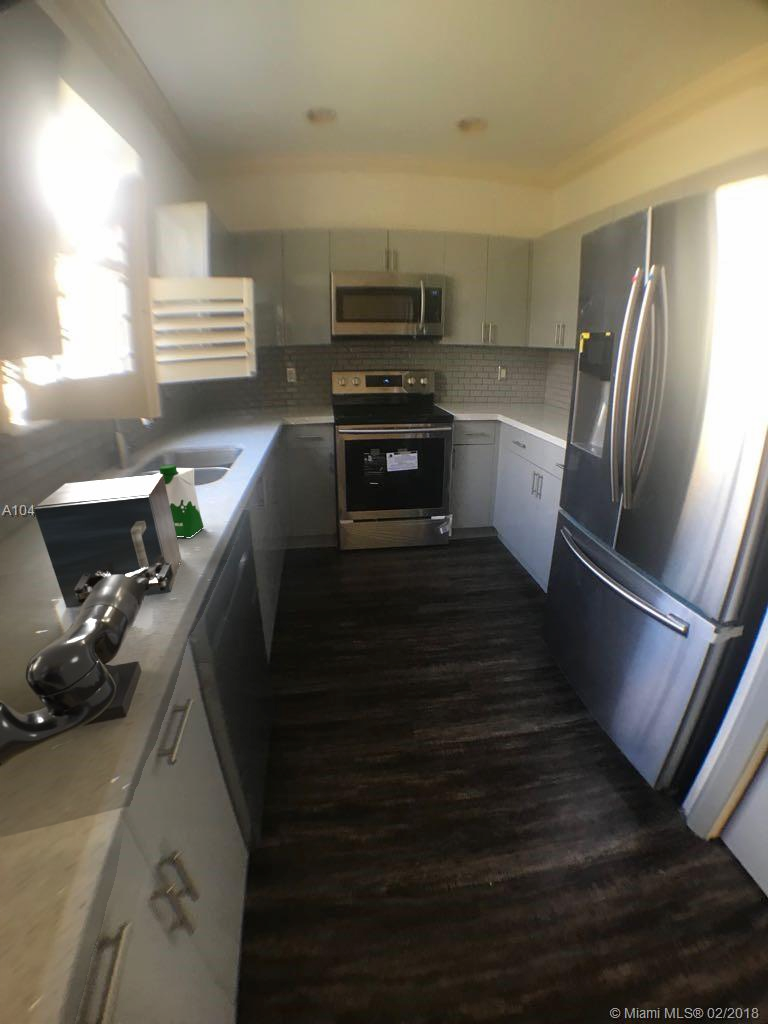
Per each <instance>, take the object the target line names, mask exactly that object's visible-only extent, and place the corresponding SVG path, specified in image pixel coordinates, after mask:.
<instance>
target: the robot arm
mask: <svg viewBox="0 0 768 1024" xmlns="http://www.w3.org/2000/svg"><path fill="white" fill-rule="evenodd" d="M171 566H172V565H171V563H170V562H168V563H166V562H165V558H164V557H162V556H161V555H157V556H156V558H155V560H154V563H153V565H151V566H149V567H147V566H144V567H142V568H140V569H138V570H136V571H134V572H130V573H127V574H117V575H112V574H113V572H114V569H113V565H112V562H106V564H105V565H103V566H102V567H101V568H100V570H99V571H96V572H95V574H94V575H91V574H90V573H87V574H84V575H83V576H82V577H81V579H80V581H79V582H78V584H77V586H76V587H75V589H74V590H75V593H76V596H77V600H78V603H83V602H84V603H83V605H80V608H79V610H78V613H77V615H76V617H75V619H74V620H73V622H72V623H71V625H70V627H69V628H68V629H67V630H66V631H65V632H63V634H61V635H60V636H59V637H58V638H56V639H55V640H54V641H52V642H51V643H48V644H47V645H46V646H44V647H42V648H41V649H40V650H39V651H37V652H36V653H35V654H33V656H32V657H31V658H30V660H29V661H28V662H27V663H28V664H27V666H26V670H25V680H26V683H27V684H28V686H29V688H30V689H31V690H32V692H33V693H34V694H35V695H36V697H37V698H38V699H39V701H40V702H41V703H42V705H43V706H44V707H42V708H39V709H36V710H32V711H27V712H22V711H19V710H17V709H15V708H14V707H13V706H11V705H9V703H7V702H5V701H3V700H1V699H0V768H2V767H3V766H5V765H6V764H7V763H9V762H10V761H12V760H13V759H15V758H17V756H19V755H21V754H23V753H26V752H27V751H29V750H32V749H34V748H36V747H38V746H40V745H42V744H45V743H46V742H48V741H50V740H52V739H55V738H57V737H59V736H61V735H64V734H67V733H68V732H71V731H73V730H76V729H78V728H80V727H83V726H82V725H84V724H86V723H88V722H90V721H91V720H93V719H94V718H96V717H97V716H99V715H100V714H101V713H102V712H103V711H104V710H105V709H106V708H107V707H108V706H109V704H110V703H111V701H112V700H113V698H114V696H115V693H116V684H115V682H114V679H113V678H112V676H111V675H110V673H109V672H108V671H107V669H106V668H105V666H104V664H108V663H110V662H111V661H112V660H113V659H115V657H116V656H117V655H118V653H119V652H120V650H121V648H122V646H123V644H124V641H125V639H126V637H127V634H128V632H129V631H130V630H131V628H132V627H133V626H134V623H135V621H136V619H137V616H138V615H139V611H140V609H141V608H142V607H141V606H142V604H143V603H144V599H145V596H144V595H145V593H146V592H147V591H148V590H149V589H150V588H154V587H159V589H160V591H164V590H166V589H167V588H168V586H169V584H170V582H171V580H172V578H173V575H174V574H173V571H172V567H171ZM153 570H155V573H156V574H154V575H153V573H152V572H153ZM143 573H144V575H145V576H143V575H141V574H143ZM95 584H96V585H95ZM94 585H95V586H94ZM93 587H94V588H93ZM84 726H85V725H84Z"/></svg>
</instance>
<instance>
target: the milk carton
mask: <svg viewBox="0 0 768 1024" xmlns="http://www.w3.org/2000/svg"><path fill="white" fill-rule="evenodd" d="M158 469H159V472H157V473H154V475H160V474H163V476H164V481H165V485H166V490H167V495H168V499H169V504H170V508H171V513H172V518H173V522H174V527H175V532H176V536H184V537H191V536H192V535H194V534H195V533H196V532H198V531H199V530H200V529H202V528H203V527H204V528H205V525H204V523H203V522H204V521H203V519H202V516H201V511H200V507H199V501H198V496H197V491H196V485H195V468H194V467H177V466H176V464H173V463H172V464H163V465H161V466H159V467H158Z"/></svg>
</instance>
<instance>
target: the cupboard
mask: <svg viewBox="0 0 768 1024" xmlns="http://www.w3.org/2000/svg"><path fill="white" fill-rule="evenodd" d="M148 495H149V496H150V500H151V504H152V508H153V513H154V517H155V521H156V526H157V530H158V534H159V538H160V543H161V547H162V551H163V556H164V558H165V562H166V563H168V562H170V563H171V565H172V566H171V567H172V571H173V574H174V575H173V578H172V580H171V582H170V586H171V590H173V587H174V584H175V581H174V580H176V578H175V577H177V575H176V574H178V571H179V568H180V565H179V563H180V564H181V562H180V560H181V561H182V556H181V551H180V550H181V549H180V546H179V542H178V538H177V536H176V532H175V527H174V522H173V518H172V513H171V508H170V504H169V499H168V495H167V490H166V485H165V481H164V476H163V474H160V475H155V474H152V475H139V476H131V477H130V476H129V477H119V478H109V479H100V480H89V481H88V480H87V481H79V482H77V481H76V482H68V483H64V484H63V485H62V486H60V487H59V488H58V489H56V490H55V491H54V492H53V493H51V494H50V495H49V496H47V497H45V498H44V500H42V501H41V502H40V503H38V504H37V505H36V506H35V508H36V507H44V506H53V505H63V504H72V503H82V502H91V501H101V500H110V499H120V498H129V497H139V496H148ZM178 567H179V568H178ZM177 570H178V571H177Z"/></svg>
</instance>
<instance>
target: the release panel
mask: <svg viewBox="0 0 768 1024" xmlns="http://www.w3.org/2000/svg"><path fill="white" fill-rule="evenodd" d="M104 666H105V668H106V669H107V671H108V672H109V673H110V675H111V676H112V678H113V679H114V682H115V684H116V693H115V696H114V698H113V700H112V701H111V703H110V704H109V706H108V707H107V708H106V709H105V710H104V711H103V712H102V713H101V714H100V715H99V716H97V717H96V718H94V719H93V720H91V721H90V722H88V723H86V724H84V725H82V726H81V727H83V726H88V725H92V724H93V725H94V724H98V723H103V722H108V721H112V720H117V719H123V718H126V717H127V716H128V712H129V710H130V707H131V704H132V701H133V698H134V695H135V692H136V689H137V686H138V683H139V680H140V677H141V674H142V668H141V665H140V661H138V660H137V661H132V662H126V663H119V664H115V665H111V664H108V663H106V664H104Z"/></svg>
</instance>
